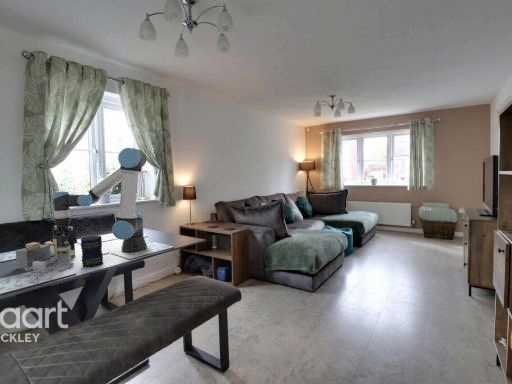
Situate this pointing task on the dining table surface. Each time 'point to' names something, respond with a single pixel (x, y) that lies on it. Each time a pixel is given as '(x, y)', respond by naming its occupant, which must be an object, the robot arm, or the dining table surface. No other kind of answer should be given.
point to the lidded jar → (50, 247)
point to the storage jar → (91, 251)
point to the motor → (39, 258)
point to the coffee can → (61, 245)
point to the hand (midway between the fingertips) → (65, 254)
